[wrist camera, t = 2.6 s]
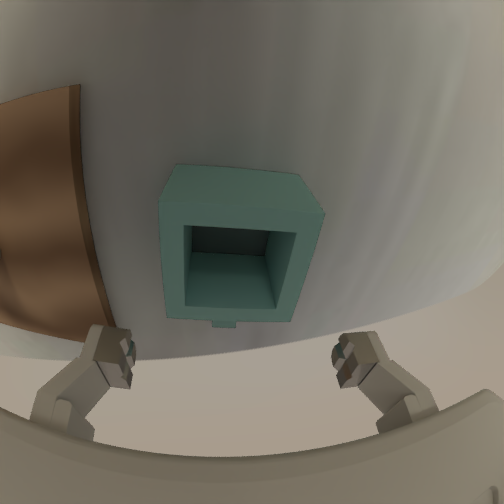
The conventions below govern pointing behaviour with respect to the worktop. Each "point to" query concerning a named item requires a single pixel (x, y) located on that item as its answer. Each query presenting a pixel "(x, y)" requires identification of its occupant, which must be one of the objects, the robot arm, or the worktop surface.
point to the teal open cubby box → (233, 265)
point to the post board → (47, 220)
